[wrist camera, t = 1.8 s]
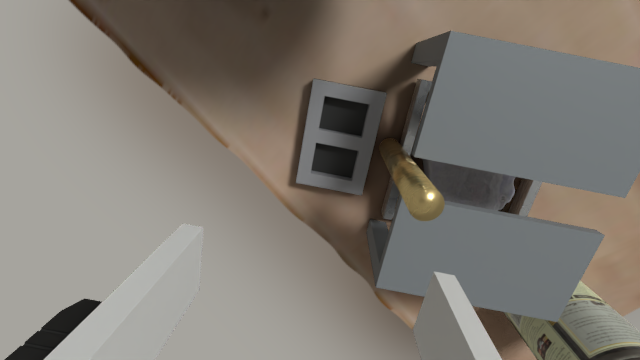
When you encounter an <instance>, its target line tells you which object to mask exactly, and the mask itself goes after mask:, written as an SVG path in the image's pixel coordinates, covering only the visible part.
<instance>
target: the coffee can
mask: <svg viewBox="0 0 640 360" xmlns="http://www.w3.org/2000/svg"><path fill="white" fill-rule="evenodd" d="M504 313H505V315H506V316H507V317H508V319H509V320H510V321H511V323H512V324H513V325H514V327H515V329H516V330H517V331H518V333H519V334H520V336H521V337H522V338H523V340H524V341H525V343H526V344H527V346H528V347H529V348H530V350H531V351H532V353H533V354H534V356H535V357H536V359H537V360H640V331H638V330H637V329H636V328H635V327H634V326H633V325H631V324H630V323H629V322H628V321H627V320H626V319H624V318H623V317H622V316H621V315H620V314H619V313H617V312H616V311H615V310H614V309H613V308H612V307H611V306H609V305H608V304H607V303H606V302H605V301H603V300H602V299H601V298H600V297H599V296H598V295H596V294H595V293H594V292H593V291H592V290H591V289H589V288H588V287H587V286H586V285H585V284H584V283H582V282H581V281H579V283H578V285H577V287H576V289H575V291H574V292H573V294H572V296H571V298H570V300H569V302H568V303H567V305H566V307H565V309H564V311H563V313H562V314H561V316H560V318H559V320H558V322H554V321H549V320H544V319H538V318H533V317H528V316H523V315H517V314H512V313H507V312H504Z"/></svg>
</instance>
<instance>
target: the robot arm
mask: <svg viewBox="0 0 640 360" xmlns="http://www.w3.org/2000/svg"><path fill="white" fill-rule="evenodd" d="M203 230H204V228H203V227H199V226H194V225H188V224H182V225H181V226H180V227H179V228H178V229H176V230H175V231H174V232H173V233H172V234H171V235H170V236H169V237H168V238H167V239H166V240H165V241H164V242H163V243H162V244H161V245H160V246H159V247H158V248H157V249H156V250H155V251H154V252H153V253H152V254H151V255H150V256H149V257H148V258H147V259H146V260H145V261H144V262H143V263H142V264H141V265H140V266H139V267H138V268H137V269H136V270H135V271H134V272H133V273H131V274H130V275H129V276H128V277H127V278H126V279H125V281H123V282H122V283H121V284H120V285H119V286H118V287H117V288H116V289H115V290H114V291H113V292H112V293H111V294H110V295H109V296H108V297H107V298H106V299H105V300H104V301H103V302H100V301H95V300H89V299H83V300H81V301H79V302H77V303H75V304H73V305H72V306H69V307H68V308H66V309H64V310H62V311H61V312H59V313H58V314H57V315H56V316H55V317H53V318H52V319H51V320H50V321H49V322H48V323H46V324H45V325H44V326H43V327H42V329H41V330H40V331H37V332H36V333H35V334H34V335H33V336H31V337H30V338H29V339H28V340H27V341H26V342H25V344H24V345H23V346H20V347H19V348H18V349H17V350H15V351H14V352H13V353H12V354H11V355H9V356H8V357H7V358H6V359H5V360H155V359H156V357H157V356H158V354H159V353H160V351H161V350H162V348H163V346H164V345H165V343H166V342H167V340H168V338H169V337H170V335H171V334H172V332H173V331H174V329H175V327H176V326H177V324H178V323H179V321H180V320H181V318H182V316H183V315H184V313H185V312H186V310H187V309H188V307H189V306H190V304H191V302H192V301H193V299H194V298H195V296H196V294H197V293H198V291H199V289H200V274H201V259H202V244H203ZM413 333H414V337H415V340H416V344H417V347H418V350H419V354H420V358H421V360H502V358H501V357H500V355H499V353H498V351H497V350H496V348H495V346H494V344H493V342H492V341H491V339H490V337H489V335H488V334H487V332H486V330H485V328H484V326H483V325H482V323H481V321H480V319H479V318H478V316H477V314H476V312H475V311H474V309H473V307H472V305H471V303H470V302H469V300H468V298H467V296H466V295H465V293H464V291H463V289H462V287H461V286H460V284H459V282H458V280H457V279H456V277H455V275H450V274H445V273H440V272H435V271H434V272H433V275H432V278H431V281H430V284H429V286H428V289H427V292H426V295H425V297H424V300H423V303H422V306H421V309H420V311H419V314H418V317H417V320H416V323H415V325H414V328H413Z"/></svg>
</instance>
